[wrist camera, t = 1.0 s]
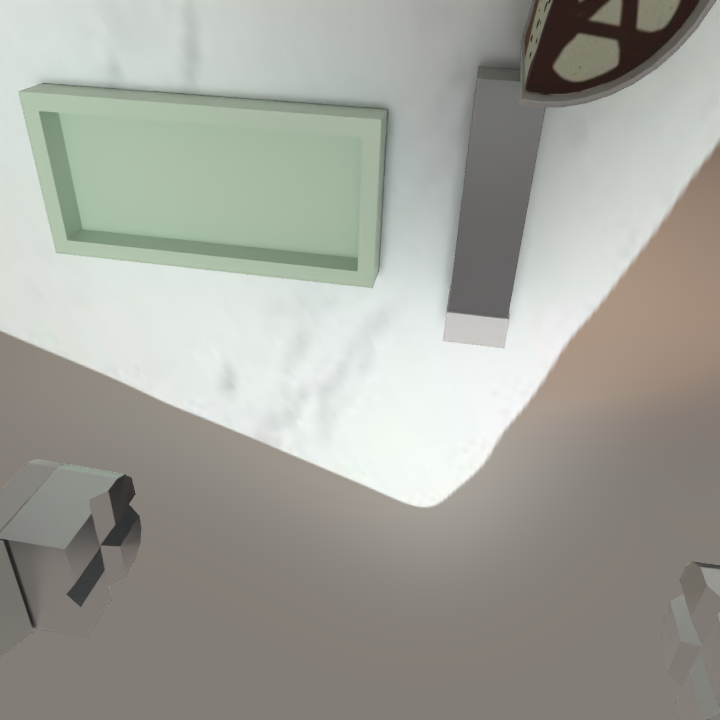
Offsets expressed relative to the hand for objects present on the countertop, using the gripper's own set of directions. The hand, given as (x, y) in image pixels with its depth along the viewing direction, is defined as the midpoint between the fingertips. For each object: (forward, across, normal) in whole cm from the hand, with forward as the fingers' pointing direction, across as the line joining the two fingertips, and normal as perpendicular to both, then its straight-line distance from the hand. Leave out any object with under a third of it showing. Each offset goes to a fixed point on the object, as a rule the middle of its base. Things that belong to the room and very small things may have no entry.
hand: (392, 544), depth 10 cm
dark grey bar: (+32, -2, +5) cm, 33 cm away
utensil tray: (+32, +15, +5) cm, 36 cm away
